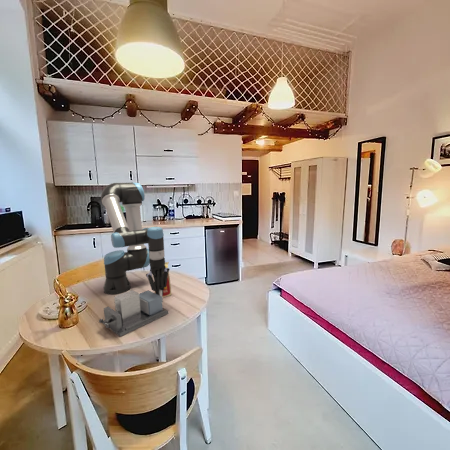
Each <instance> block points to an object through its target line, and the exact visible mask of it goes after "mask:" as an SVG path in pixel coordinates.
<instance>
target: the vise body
mask: <svg viewBox="0 0 450 450" xmlns="http://www.w3.org/2000/svg"><path fill="white" fill-rule="evenodd" d="M168 314H169V310H168V309H167V308H164V307H163V310H161V311H159V312H157V313H155V314H153V315H151V316H150V315H148V314H147V313H145V312H143V311H141V317H140V318H138V319H136V320H134V321H131V322H129V323H127V324H125V325H122V321H121V315H120V314H119V313H117V312H116V310H114V309H113V308H111V307H110V306H106V307H103V315H104V319H103V318H99V319H98V323H99V324H103V325H104V326H105V328H106V329H109V330H111V331H112V332H113V333H114V334H116V335H117V336H119V337H121V338H122V337H123V336H125V335H127V334H130V333H131V332H133V331H135V330H137V329H140V328H142V327H145V325H147V324H150V323H152V322H153V321H156V320H159V319H160V318H162V317H164V316H166V315H168Z"/></svg>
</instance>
